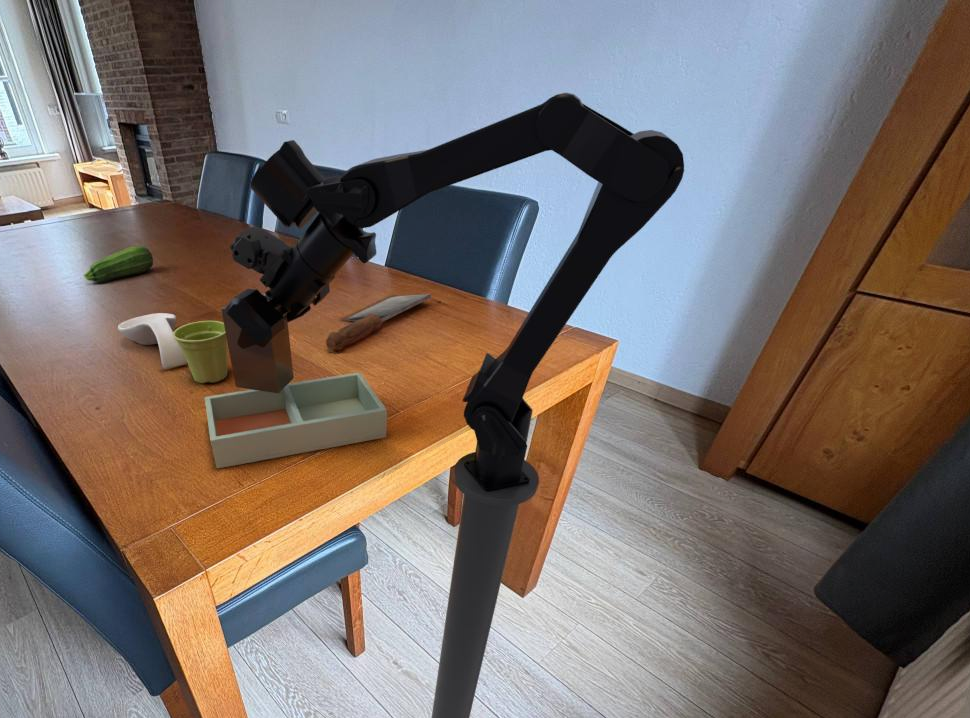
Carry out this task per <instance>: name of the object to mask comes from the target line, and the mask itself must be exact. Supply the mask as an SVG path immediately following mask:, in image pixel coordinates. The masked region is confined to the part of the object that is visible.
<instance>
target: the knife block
mask: <svg viewBox="0 0 970 718" xmlns="http://www.w3.org/2000/svg"><path fill="white" fill-rule="evenodd" d="M261 294H262V293H261ZM262 295H263V296H264V293H263V294H262ZM264 297H265V296H264ZM267 300H268V299H267ZM268 301H270V300H268ZM229 303H230V302H229ZM229 303H226V304H225V305H223V306H222V307H220V311H221V315H222V316H221V317H222V322H223V323H224V327H225V332H226V337H227V340H226V344H227V347H228V353H229V358H230V363H231V364H230V365H231V368H232V374H233V379H234V385H235V388H241V389H245V390H259V391H265V392H272V393H280V392H281V391H282V390H283V389H284V388H285V387H286V386H287V385H288V384H289V383H292V381H293V380H294V379H295V376H294V368H293V367H294V366H293V357H292V350H291V342H290V332H289V331H290V330H289V322H287V314H285V315H284V316H283V317H284V319H285V322H284V325H285V328H284V330H283V331H282V333H281V334H280V335H279V336H277V337H276V338H275V339H274V340H273V341H272V342H270V343H269V344H268V345H267V346H265V347H264V348H263V347H259V346H258V345H257V344H256V345H253V346H250V347H248V348H245V349H242V348H241V347H240V346H239V345H238V344H237V342H238V339H239V336H240V332H241V328H240V327H239V326H238V325H237V324H236V323H235V322H234V321H233V320H232V319H231V317H230V316H229V315H228V314H227V313H226V307H227V306H228V304H229ZM280 307H282V306H280ZM280 307H279V308H280ZM279 308H277V309H276V310H278V309H279Z"/></svg>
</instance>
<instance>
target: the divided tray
mask: <svg viewBox="0 0 970 718" xmlns="http://www.w3.org/2000/svg"><path fill="white" fill-rule="evenodd" d="M204 403H205V410H206V419H207V424H208V432H209V433H208V434H209V439H210V440H209V441H210V444H211V449H212V454H213V458H214V462H215V466H216V469H222V468H223V469H224V468H227V467H234V466H240V465H244V464H250V463H255V462H256V463H257V462H261V461H266V460H272V459H277V458H282V457H289V456H291V455H292V456H293V455H299V454H305V453H309V452H315V451H320V450H324V449H330V448H336V447H341V446H347V445H353V444H357V443H363V442H368V441H374V440H378V439H380V440H381V439H384V438H387V429H388V426H387V425H388V423H387V422H388V409H387V408H386V406H385V405H384V403H383V402H382V401H381V399H380V397H378V395H377V393H376V392H375V391H374V389H373V388H372V387H371V385H370V384H369V383H368V381H367V379H366V378H365V377H364V376H363V374H362V372H360V371H359V372H353V373H345V374H340V375H333V376H328V377H321V378H316V379H309V380H303V381H296V382H290V383H289V384H288V385H287V386H286V387H285V388H284V389H283V390H282V391H281V392H280V393H272V392H265V391H259V390H252V389H245V390H239V391H234V392H233V391H232V392H228V393H221V394H214V395H209V396H204Z"/></svg>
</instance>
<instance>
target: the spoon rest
mask: <svg viewBox="0 0 970 718" xmlns="http://www.w3.org/2000/svg"><path fill="white" fill-rule="evenodd" d="M176 324H177V316H176V315H175V314H172V313H166V312H157V313H149V314H145V315H139V316H136V317H132V318H130V319H127V320H124V321H123V322H120V323H119V324H118V326H117V329H118V331H119V332H120V333H121V334H122V336H123V337H125V338H127V339H129V340H131V341H133V342H136V343H137V344H139V345H143V346H151V345H156V344H157V345H158V350H159V355H160V361H161V366H162V369H163V370H169V369H173V368H176V367H181V366H184V365H186V364H188V363H187V360H186V358H185V355H184V353H183V350H182V348H181V347H180V346H179V344H178V342H177V340H176V339H174V337H173V332H174V330H175V327H176Z"/></svg>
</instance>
